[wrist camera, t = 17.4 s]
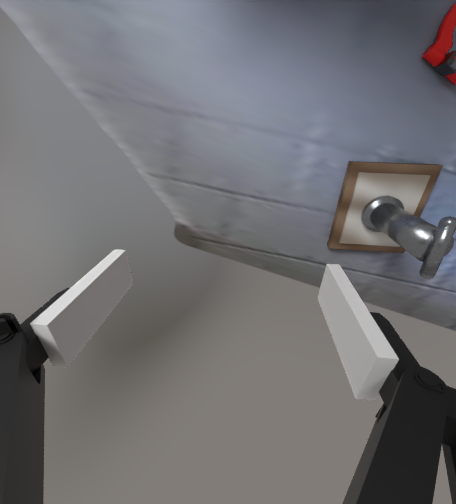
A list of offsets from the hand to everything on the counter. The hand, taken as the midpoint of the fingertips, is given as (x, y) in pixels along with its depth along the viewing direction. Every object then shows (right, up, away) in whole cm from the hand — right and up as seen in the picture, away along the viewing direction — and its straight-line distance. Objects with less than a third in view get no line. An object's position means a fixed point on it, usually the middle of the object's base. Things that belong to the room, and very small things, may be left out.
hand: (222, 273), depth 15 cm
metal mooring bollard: (+27, +8, +25) cm, 38 cm away
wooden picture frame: (+28, +9, +27) cm, 40 cm away
